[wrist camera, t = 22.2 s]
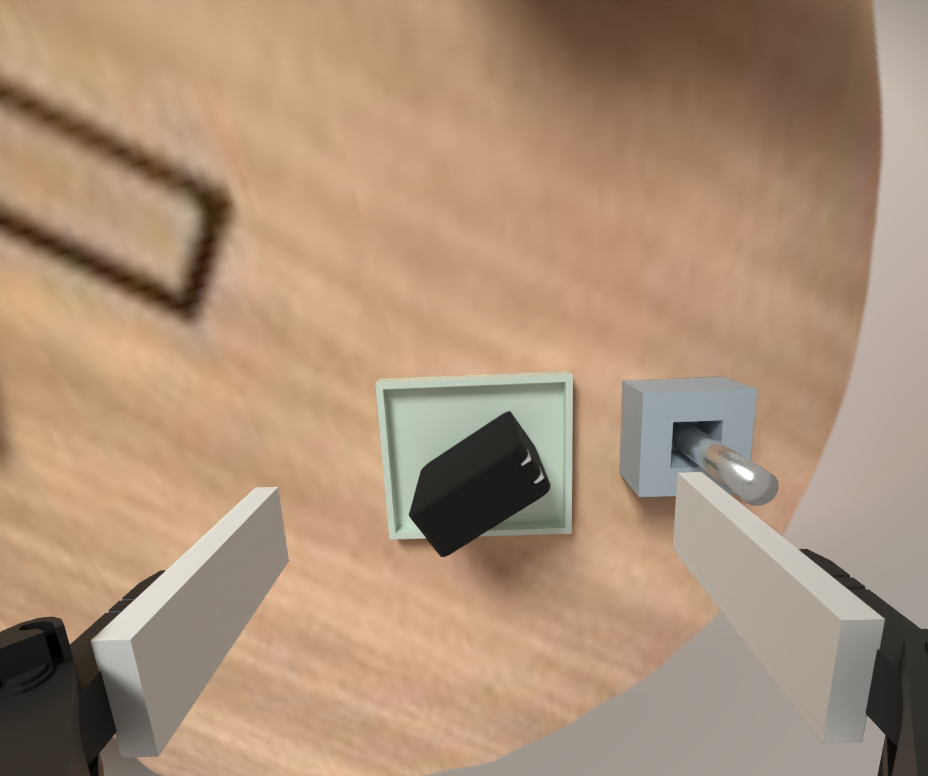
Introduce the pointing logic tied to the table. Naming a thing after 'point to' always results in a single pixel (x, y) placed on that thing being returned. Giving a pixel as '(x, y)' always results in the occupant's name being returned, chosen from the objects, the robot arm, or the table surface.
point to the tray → (461, 414)
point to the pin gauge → (725, 464)
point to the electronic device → (477, 485)
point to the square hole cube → (679, 400)
